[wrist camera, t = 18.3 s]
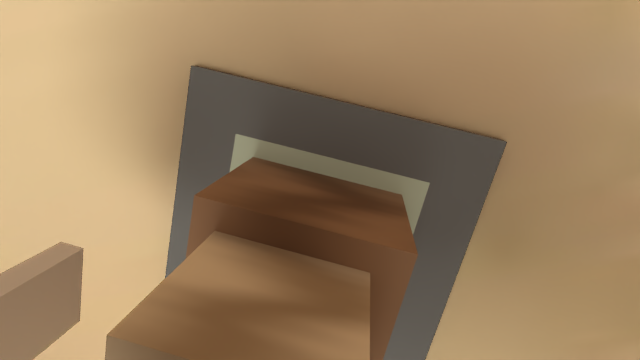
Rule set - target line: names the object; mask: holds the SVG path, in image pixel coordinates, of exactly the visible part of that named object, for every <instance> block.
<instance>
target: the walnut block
mask: <svg viewBox="0 0 640 360" xmlns="http://www.w3.org/2000/svg"><path fill="white" fill-rule="evenodd" d="M214 231H218V232H221V233H225V234H229V235H232V236H236V237H240V238H243V239H247V240H251V241H254V242H258V243H262V244H265V245H269V246H273V247H277V248H280V249H284V250H288V251H291V252H295V253H299V254H302V255H306V256H310V257H313V258H317V259H321V260H324V261H328V262H332V263H336V264H339V265H343V266H347V267H350V268H354V269H358V270H361V271H365V272H369V273H370V360H383V358H384V355H385V352H386V349H387V346H388V343H389V340H390V337H391V334H392V331H393V328H394V325H395V322H396V319H397V316H398V313H399V310H400V307H401V304H402V301H403V298H404V295H405V292H406V289H407V286H408V283H409V280H410V277H411V274H412V271H413V268H414V265H415V262H416V259H417V256H418V253H417V249H416V245H415V242H414V238H413V234H412V230H411V227H410V223H409V219H408V215H407V212H406V208H405V204H404V200H403V197H402V195H401V194H397V193H393V192H389V191H385V190H381V189H377V188H373V187H370V186H366V185H362V184H358V183H354V182H350V181H346V180H342V179H338V178H334V177H330V176H326V175H322V174H319V173H315V172H311V171H307V170H303V169H299V168H295V167H291V166H287V165H283V164H279V163H275V162H271V161H268V160H264V159H260V158H256V157H252V158H251V159H249V160H248V161H246V162H245V163H243V164H241V165H240V166H238V167H237V168H235V169H234V170H232V171H231V172H229V173H228V174H226V175H225V176H223V177H222V178H220V179H218V180H217V181H215V182H214V183H212V184H211V185H209V186H208V187H206V188H205V189H203V190H202V191H200V192H199V193H197V194H196V195H194V200H193V208H192V215H191V223H190V230H189V237H188V245H187V252H186V258H187V257H188V256H189V255H190V254H191V253H192V252H193V251H194V250H195V249H196V248H198V247H199V246H200V245H201V244H202V243H203V242H204V241H205V240H206V239H207V238H208V237H209V236H210V235H211V234H212V233H213V232H214Z"/></svg>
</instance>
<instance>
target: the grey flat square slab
mask: <svg viewBox="0 0 640 360" xmlns="http://www.w3.org/2000/svg"><path fill="white" fill-rule="evenodd" d="M506 143H507V142H506V141H504V140H500V139H496V138H492V137H488V136H483V135H479V134H475V133H471V132H467V131H463V130H459V129H455V128H450V127H446V126H442V125H438V124H434V123H430V122H426V121H422V120H417V119H413V118H409V117H405V116H401V115H397V114H393V113H389V112H384V111H380V110H376V109H372V108H368V107H364V106H360V105H356V104H351V103H347V102H343V101H339V100H335V99H331V98H327V97H322V96H318V95H314V94H310V93H306V92H302V91H298V90H294V89H289V88H285V87H281V86H277V85H273V84H269V83H265V82H261V81H256V80H252V79H248V78H244V77H240V76H236V75H232V74H228V73H223V72H219V71H215V70H211V69H207V68H203V67H199V66H191V71H190V79H189V87H188V95H187V104H186V112H185V120H184V128H183V136H182V145H181V153H180V161H179V169H178V177H177V186H176V194H175V202H174V210H173V218H172V226H171V235H170V243H169V251H168V259H167V267H166V276H165V278H166V277H167V276H168V275H170V274H171V273H172V272H173V271H174V270H175V269H176V268H177V267H178V266H179V265H180V264H181V263H182V262H183V261H184V260H185V259H186V252H187V245H188V237H189V230H190V223H191V215H192V208H193V200H194V195H196V194H197V193H199V192H200V191H202V190H203V189H205V188H206V187H208V186H209V185H211V184H212V183H214V182H215V181H217V180H218V179H220V178H222V177H223V176H225V175H226V174H228V173H229V172H231V171H232V170H234V169H235V168H237V167H238V166H240V165H241V164H243V163H245V162H246V161H248V160H249V159H251V158H252V157H256V158H260V159H264V160H268V161H271V162H275V163H279V164H283V165H287V166H291V167H295V168H299V169H303V170H307V171H311V172H315V173H319V174H322V175H326V176H330V177H334V178H338V179H342V180H346V181H350V182H354V183H358V184H362V185H366V186H370V187H373V188H377V189H381V190H385V191H389V192H393V193H397V194H401V195H402V197H403V200H404V204H405V208H406V212H407V215H408V219H409V223H410V227H411V230H412V234H413V238H414V242H415V245H416V249H417V253H418V256H417V259H416V262H415V265H414V268H413V271H412V274H411V277H410V280H409V283H408V286H407V289H406V292H405V295H404V298H403V301H402V304H401V307H400V310H399V313H398V316H397V319H396V322H395V325H394V328H393V331H392V334H391V337H390V340H389V343H388V346H387V349H386V352H385V355H384V358H383V360H425V359H426V356H427V353H428V351H429V348H430V345H431V343H432V340H433V337H434V335H435V332H436V329H437V327H438V324H439V321H440V319H441V316H442V313H443V311H444V308H445V306H446V303H447V300H448V298H449V295H450V292H451V290H452V287H453V284H454V282H455V279H456V276H457V274H458V271H459V268H460V266H461V263H462V260H463V258H464V255H465V252H466V250H467V247H468V244H469V242H470V239H471V236H472V234H473V231H474V228H475V226H476V223H477V220H478V218H479V215H480V212H481V210H482V207H483V205H484V202H485V199H486V197H487V194H488V191H489V189H490V186H491V183H492V181H493V178H494V175H495V173H496V170H497V167H498V165H499V162H500V159H501V157H502V154H503V151H504V149H505V146H506Z"/></svg>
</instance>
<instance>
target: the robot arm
mask: <svg viewBox="0 0 640 360" xmlns="http://www.w3.org/2000/svg"><path fill="white" fill-rule="evenodd" d="M82 266H83V248H81V247H77V246H73V245H70V244H66V243H63V242H60V243H58V244H56V245H54V246H52V247H50V248H49V249H47V250H45V251H43V252H41V253H39V254H37V255H35V256H33V257H31V258H29V259H27V260H26V261H24V262H22V263H20V264H18V265H16V266H14V267H12V268H10V269H8V270H6V271H5V272H3V273H1V274H0V360H33V359H34V358H35V357H36V356H38V355H39V354H40V353H41V352H43V351H44V350H45V349H46V348H47V347H49V346H50V345H51V344H52V343H53V342H55V341H56V340H57V339H58V338H59V337H61V336H62V335H63V334H64V333H66V332H67V331H68V330H69V329H70V328H72V327H73V326H74V325H75V324H76V323H78V322H79V321H80V306H81V286H82Z"/></svg>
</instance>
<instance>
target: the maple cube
mask: <svg viewBox="0 0 640 360" xmlns="http://www.w3.org/2000/svg"><path fill="white" fill-rule="evenodd" d="M105 360H370V273H369V272H365V271H361V270H358V269H354V268H350V267H347V266H343V265H339V264H336V263H332V262H328V261H324V260H321V259H317V258H313V257H310V256H306V255H302V254H299V253H295V252H291V251H288V250H284V249H280V248H277V247H273V246H269V245H265V244H262V243H258V242H254V241H251V240H247V239H243V238H240V237H236V236H232V235H229V234H225V233H221V232H218V231H214V232H213V233H212V234H211V235H210V236H209V237H208V238H207V239H206V240H205V241H204V242H203V243H202V244H201V245H200V246H199V247H198V248H196V249H195V250H194V251H193V252H192V253H191V254H190V255H189V256H188V257H187V258H186V259H185V260H184V261H183V262H182V263H181V264H180V265H179V266H178V267H177V268H176V269H175V270H174V271H173V272H172V273H171V274H170V275H168V276H167V277H166V278H165V279H164V280H163V281H162V282H161V283H160V284H159V285H158V286H157V287H156V288H155V289H154V290H153V291H152V292H151V293H150V294H149V295H148V296H147V297H146V298H145V299H144V300H143V301H142V302H141V303H139V304H138V305H137V306H136V307H135V308H134V309H133V310H132V311H131V312H130V313H129V314H128V315H127V316H126V317H125V318H124V319H123V320H122V321H121V322H120V323H119V324H118V325H117V326H116V327H115V328H114V329H113V330H112V331H110V332H109V333H108V334H107V340H106V353H105Z"/></svg>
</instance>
